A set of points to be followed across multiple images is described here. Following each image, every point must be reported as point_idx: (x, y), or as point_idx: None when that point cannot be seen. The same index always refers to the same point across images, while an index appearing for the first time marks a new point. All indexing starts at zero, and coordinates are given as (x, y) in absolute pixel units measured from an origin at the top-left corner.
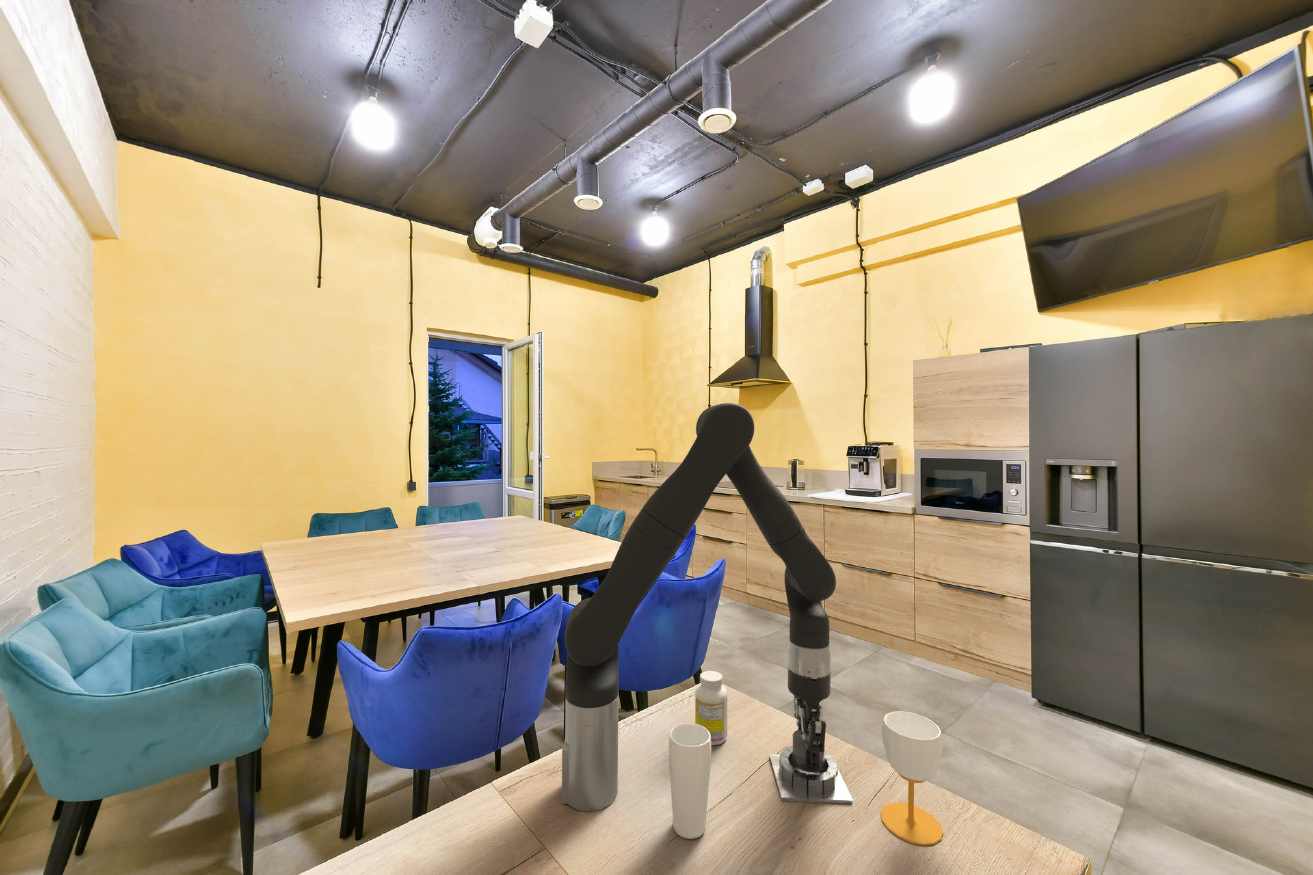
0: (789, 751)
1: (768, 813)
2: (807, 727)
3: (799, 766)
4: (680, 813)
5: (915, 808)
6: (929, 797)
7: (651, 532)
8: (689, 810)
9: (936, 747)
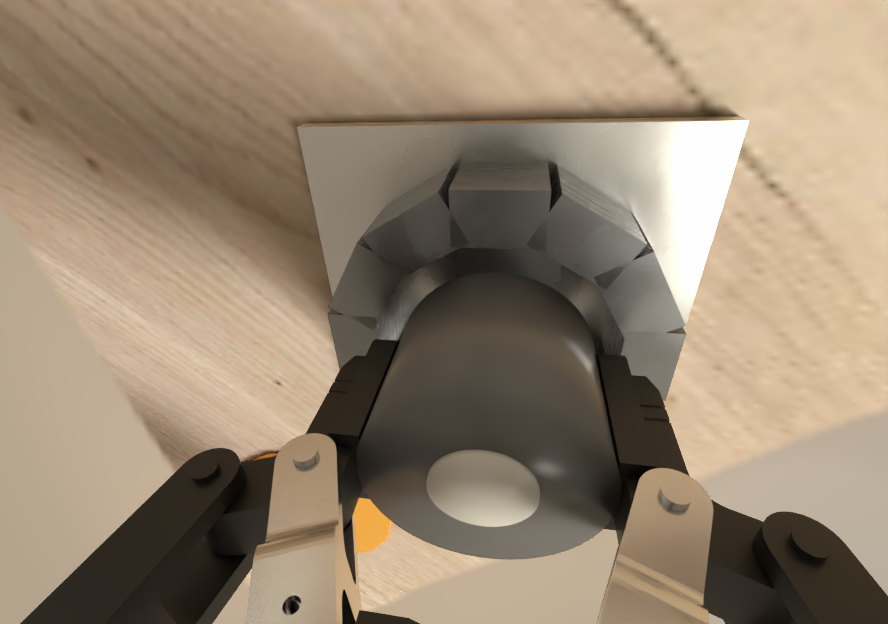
0: (612, 277)
1: (181, 18)
2: (619, 529)
3: (427, 300)
4: None
5: (370, 538)
6: (431, 576)
7: None
8: None
9: None
